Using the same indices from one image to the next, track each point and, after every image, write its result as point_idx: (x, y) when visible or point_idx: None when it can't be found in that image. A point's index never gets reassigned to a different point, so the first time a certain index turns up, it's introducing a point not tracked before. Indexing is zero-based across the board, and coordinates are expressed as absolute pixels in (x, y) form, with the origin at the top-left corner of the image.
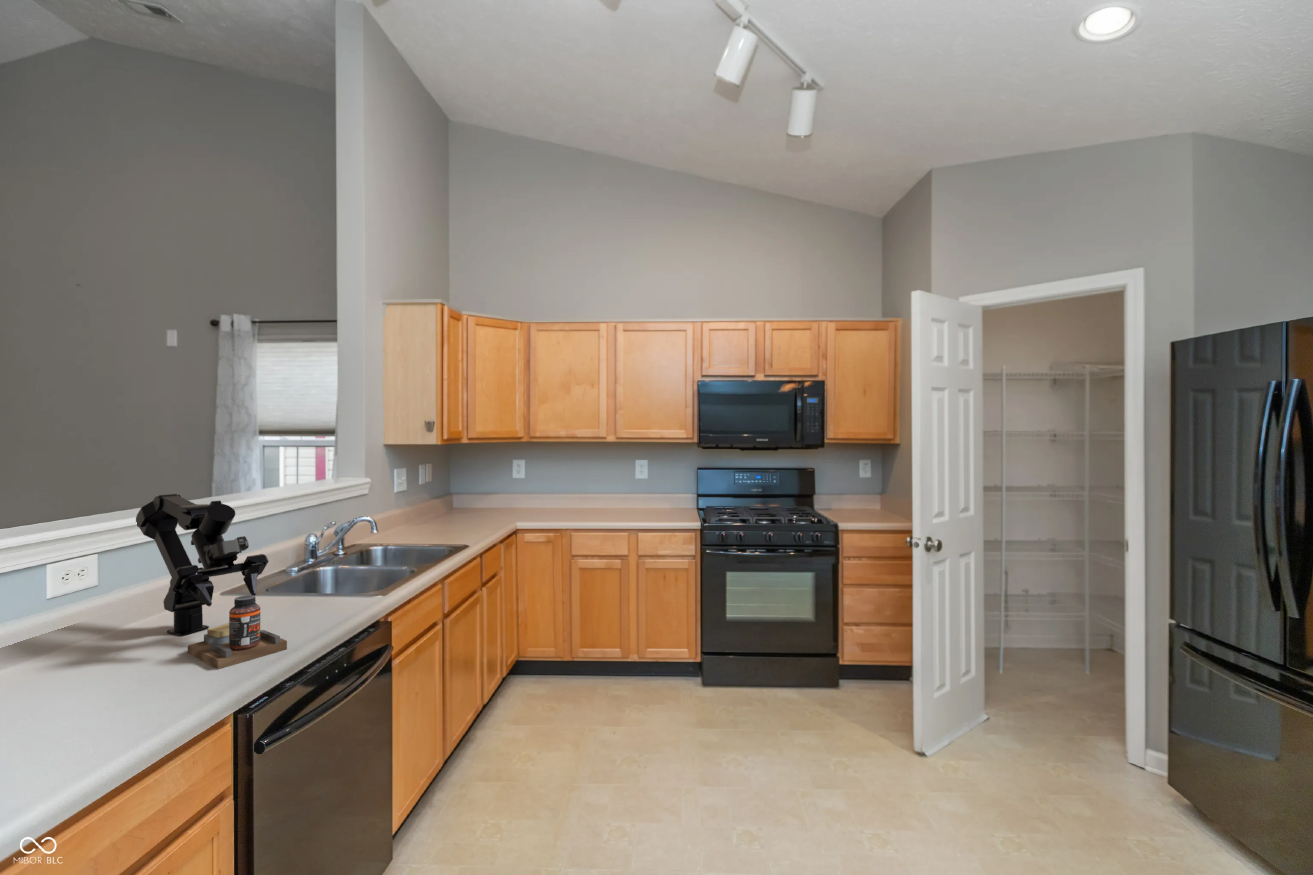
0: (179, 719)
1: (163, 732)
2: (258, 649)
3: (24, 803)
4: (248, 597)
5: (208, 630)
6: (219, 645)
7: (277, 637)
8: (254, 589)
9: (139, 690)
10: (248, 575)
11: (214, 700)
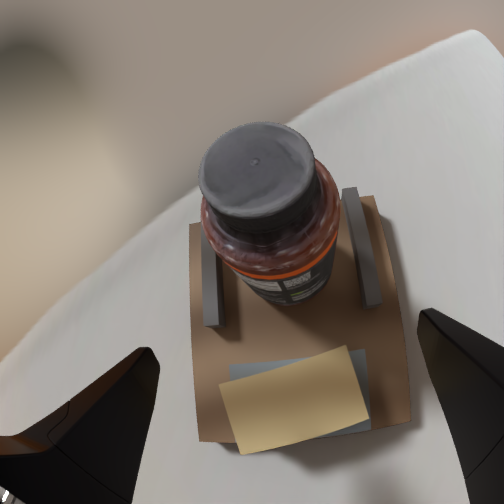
0: (417, 63)
1: (427, 52)
2: None
3: (486, 41)
4: (242, 144)
5: (366, 410)
6: (363, 256)
7: None
8: (126, 365)
9: (495, 204)
10: (73, 490)
11: (381, 78)
